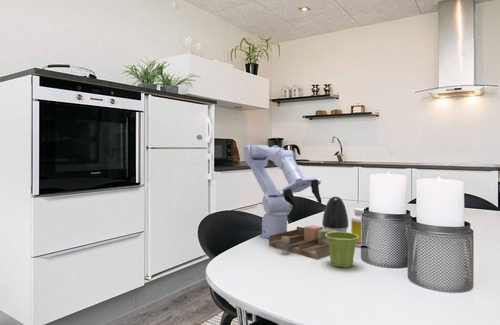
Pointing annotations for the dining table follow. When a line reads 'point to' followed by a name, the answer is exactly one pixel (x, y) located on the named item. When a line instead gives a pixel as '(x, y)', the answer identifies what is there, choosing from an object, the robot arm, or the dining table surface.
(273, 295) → the dining table surface
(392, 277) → the dining table surface
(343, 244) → the plant pot
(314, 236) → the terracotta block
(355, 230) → the supplement bottle
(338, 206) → the black rounded cone
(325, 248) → the lane shelf
